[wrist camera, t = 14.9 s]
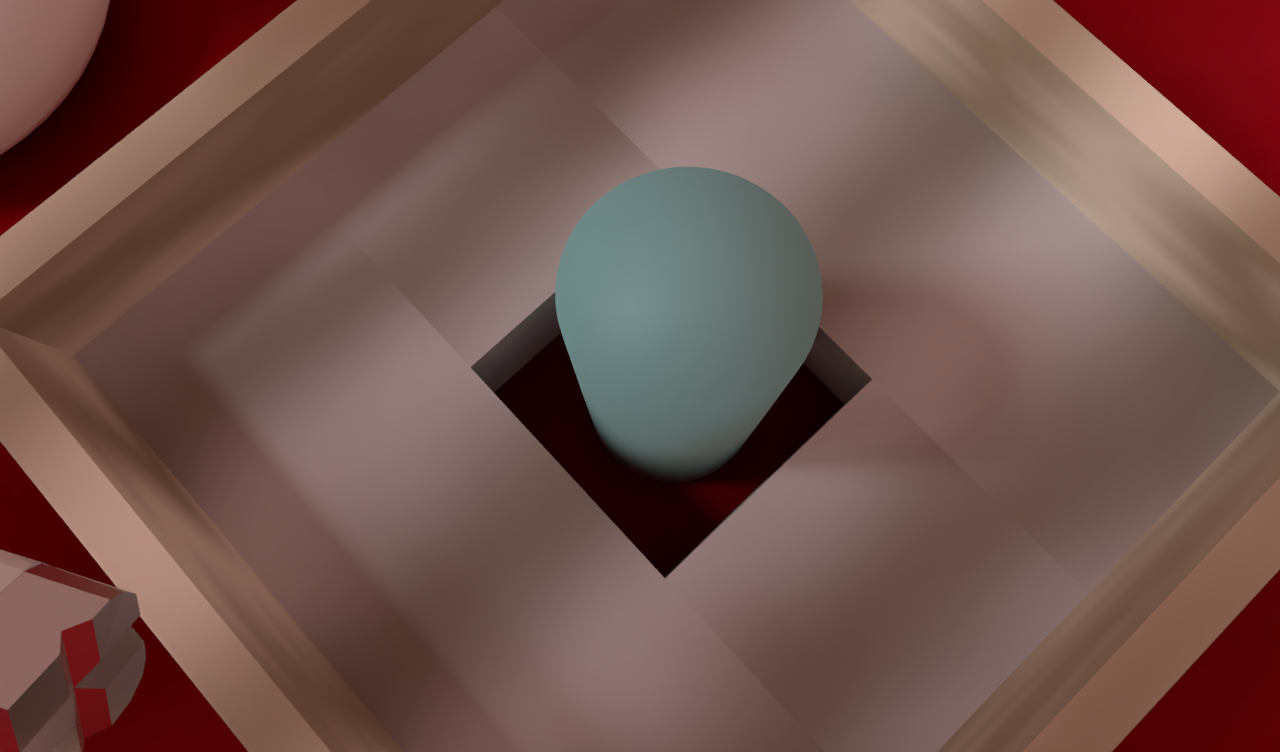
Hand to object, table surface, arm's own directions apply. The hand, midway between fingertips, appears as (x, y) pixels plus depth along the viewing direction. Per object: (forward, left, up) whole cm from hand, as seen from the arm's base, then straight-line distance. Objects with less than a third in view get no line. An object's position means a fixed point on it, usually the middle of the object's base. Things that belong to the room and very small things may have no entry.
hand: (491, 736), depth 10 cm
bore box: (-3, +6, -12) cm, 13 cm away
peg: (-3, +6, -12) cm, 13 cm away
